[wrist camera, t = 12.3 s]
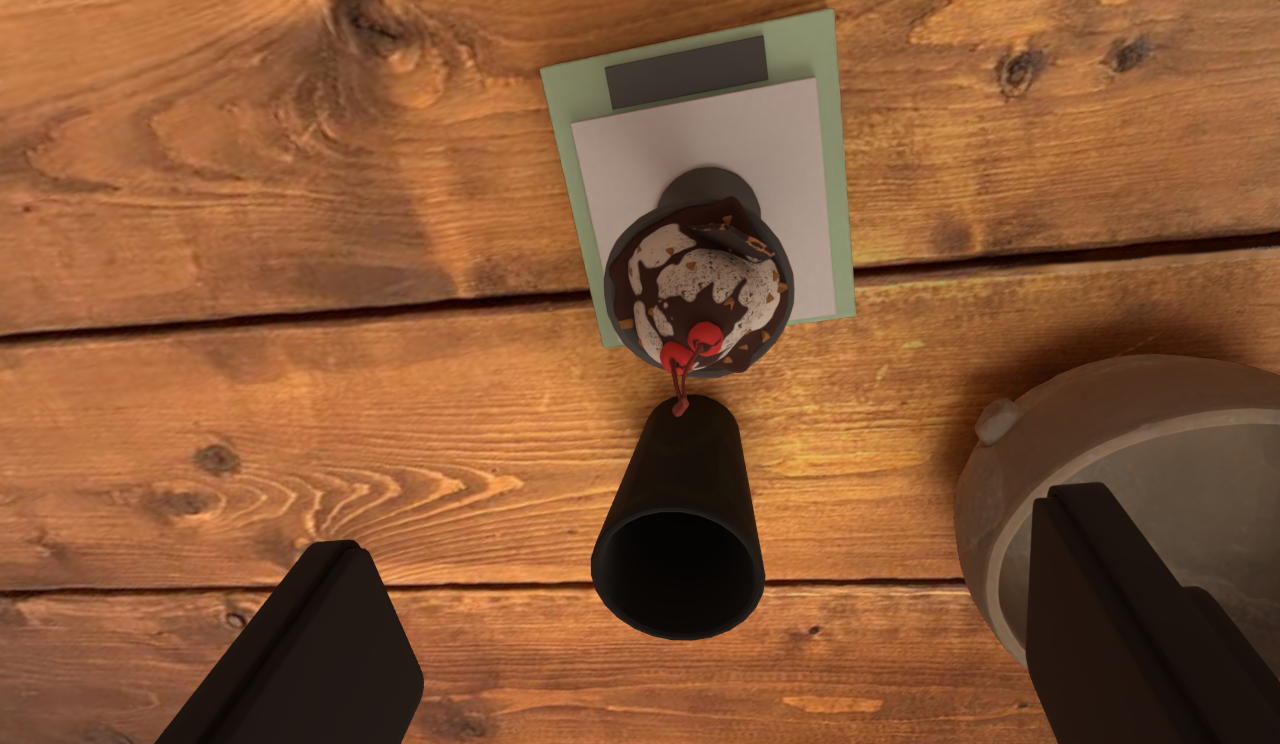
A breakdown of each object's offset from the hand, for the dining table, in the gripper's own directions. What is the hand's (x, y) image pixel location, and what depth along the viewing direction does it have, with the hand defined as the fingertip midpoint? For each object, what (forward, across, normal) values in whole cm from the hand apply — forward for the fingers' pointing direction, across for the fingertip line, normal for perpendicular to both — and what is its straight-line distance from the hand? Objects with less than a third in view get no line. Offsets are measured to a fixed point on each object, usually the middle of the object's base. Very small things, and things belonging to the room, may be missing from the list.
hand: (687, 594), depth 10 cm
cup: (+29, +4, +15) cm, 33 cm away
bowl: (+29, -18, +19) cm, 39 cm away
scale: (+29, +1, +1) cm, 29 cm away
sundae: (+27, +1, +2) cm, 27 cm away
